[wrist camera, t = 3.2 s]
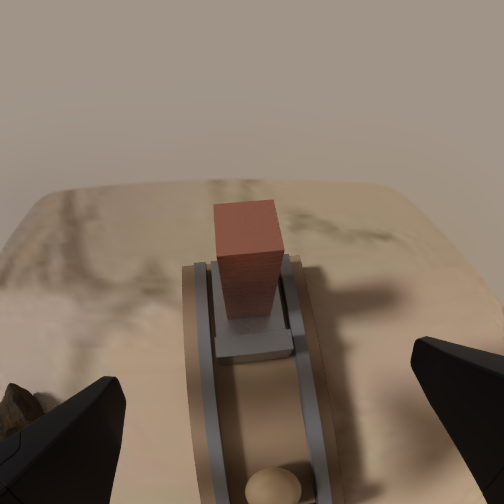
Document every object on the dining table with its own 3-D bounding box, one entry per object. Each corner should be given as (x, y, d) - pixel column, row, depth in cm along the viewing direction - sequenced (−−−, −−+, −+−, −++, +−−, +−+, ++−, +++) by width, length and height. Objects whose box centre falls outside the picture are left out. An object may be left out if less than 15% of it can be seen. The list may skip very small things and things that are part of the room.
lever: (287, 357, 18) (317, 310, 11) (220, 365, 18) (200, 323, 11) (271, 262, 22) (283, 175, 15) (212, 268, 22) (196, 182, 14)
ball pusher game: (337, 508, 14) (361, 528, 10) (210, 526, 13) (201, 552, 9) (295, 267, 24) (306, 232, 20) (186, 278, 24) (174, 244, 19)
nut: (307, 482, 14) (318, 493, 11) (271, 514, 13) (275, 530, 10) (270, 454, 15) (275, 461, 12) (234, 486, 14) (232, 498, 11)
